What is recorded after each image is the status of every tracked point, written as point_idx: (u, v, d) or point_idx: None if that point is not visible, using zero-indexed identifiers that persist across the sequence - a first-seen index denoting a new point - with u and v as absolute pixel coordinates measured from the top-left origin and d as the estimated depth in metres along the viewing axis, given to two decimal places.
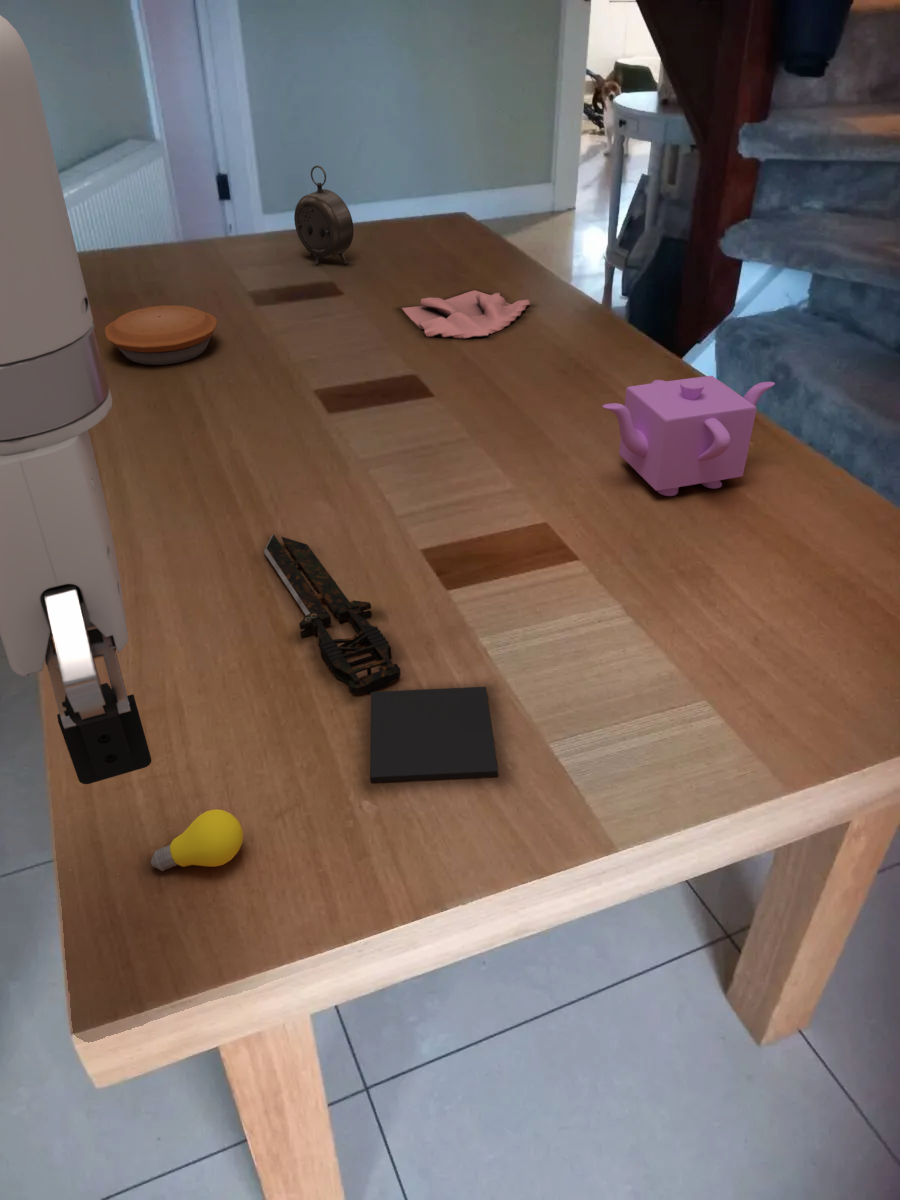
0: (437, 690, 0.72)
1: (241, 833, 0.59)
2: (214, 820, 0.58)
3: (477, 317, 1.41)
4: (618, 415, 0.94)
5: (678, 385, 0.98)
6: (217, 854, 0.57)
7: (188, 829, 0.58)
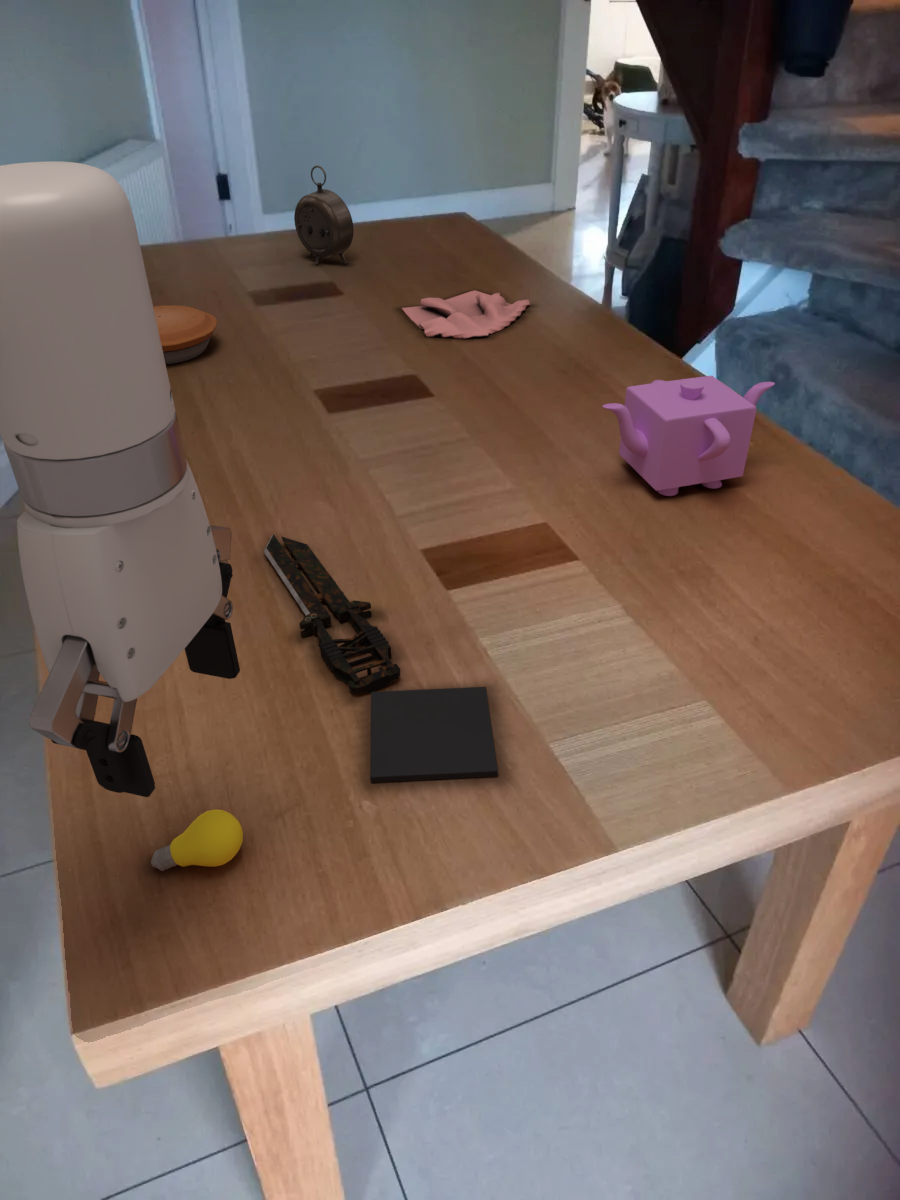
0: (437, 690, 0.72)
1: (241, 833, 0.59)
2: (214, 820, 0.58)
3: (477, 317, 1.41)
4: (618, 415, 0.94)
5: (678, 385, 0.98)
6: (217, 854, 0.57)
7: (188, 829, 0.58)
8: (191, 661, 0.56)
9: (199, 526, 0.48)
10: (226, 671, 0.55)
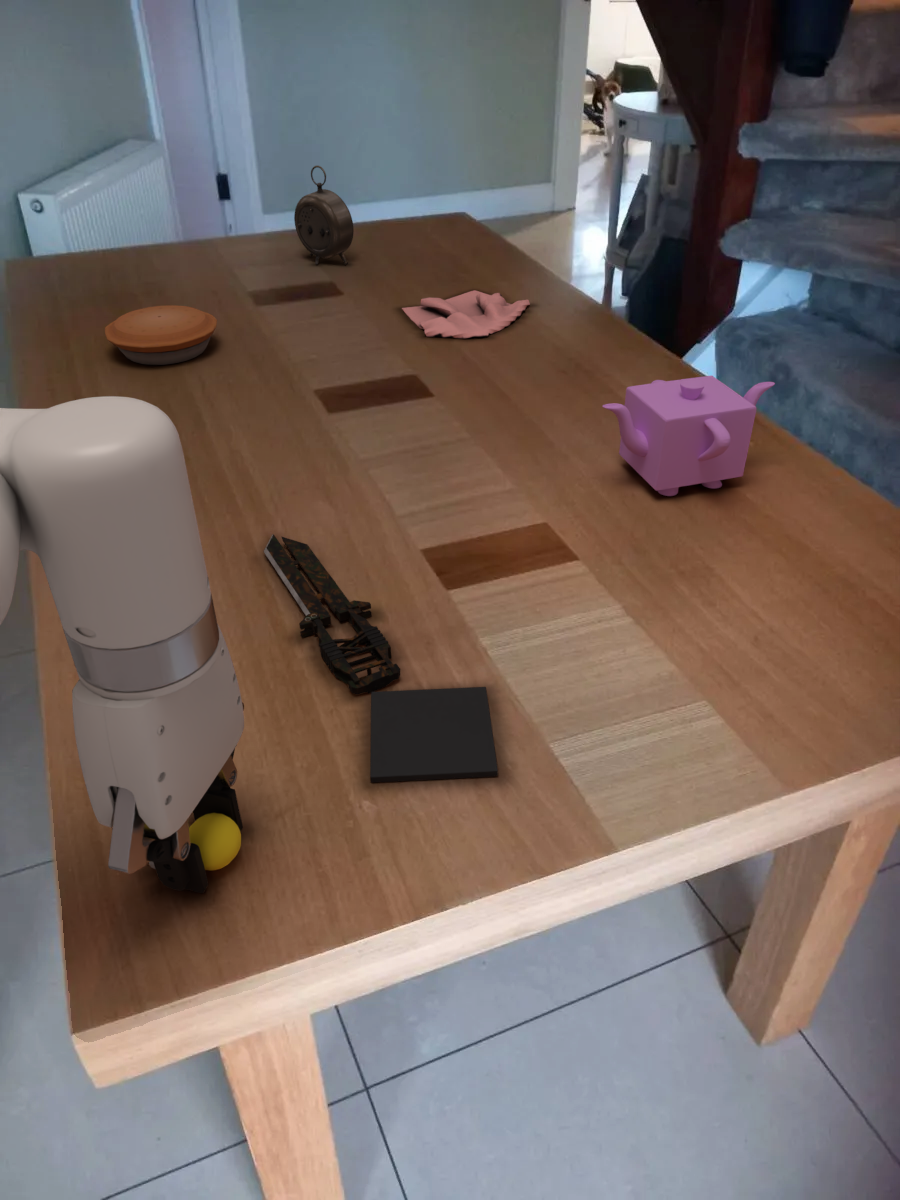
0: (437, 690, 0.72)
1: (239, 838, 0.58)
2: (212, 824, 0.57)
3: (477, 317, 1.41)
4: (618, 415, 0.94)
5: (678, 385, 0.98)
6: (214, 858, 0.57)
7: None
8: None
9: (226, 677, 0.54)
10: None
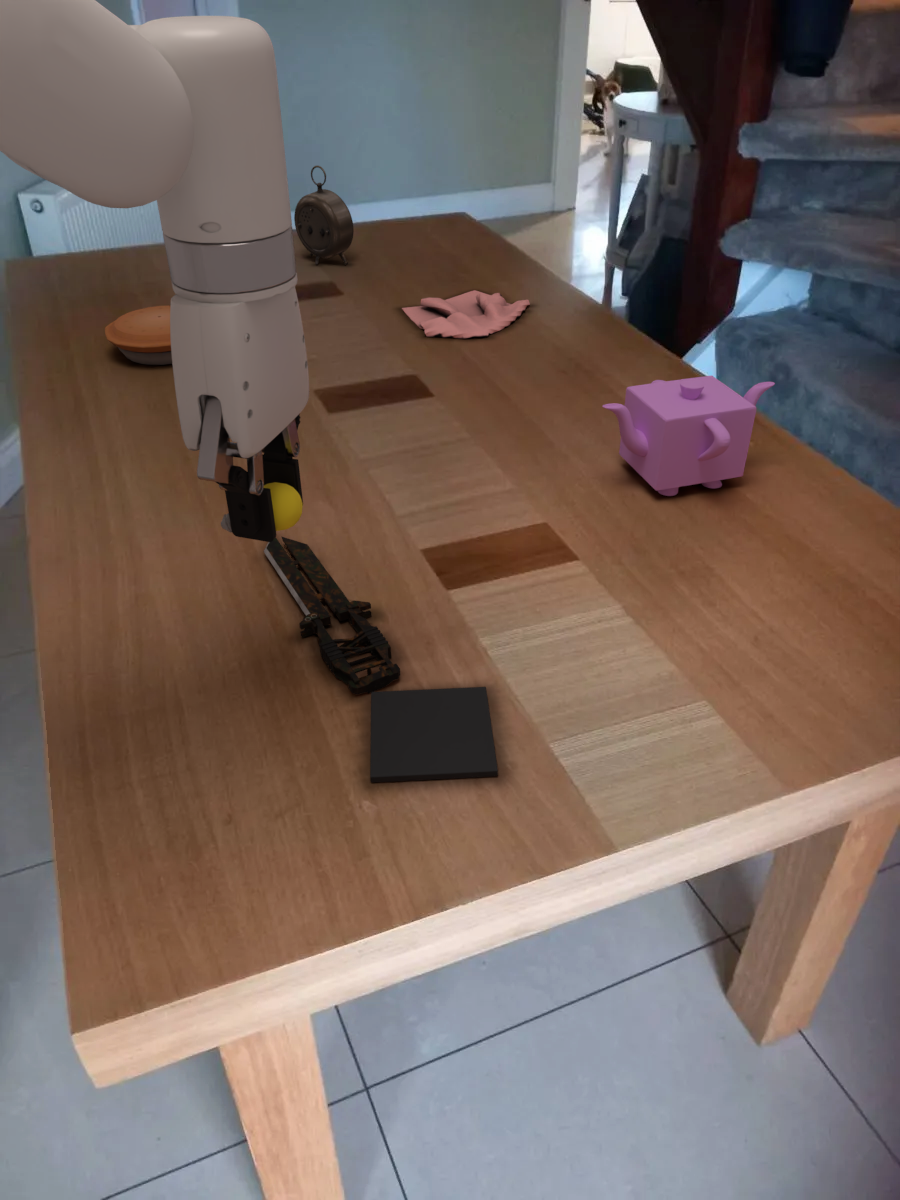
0: (437, 690, 0.72)
1: (301, 504, 0.65)
2: (277, 487, 0.64)
3: (477, 317, 1.41)
4: (618, 415, 0.94)
5: (678, 385, 0.98)
6: (278, 515, 0.64)
7: None
8: None
9: (298, 330, 0.60)
10: None
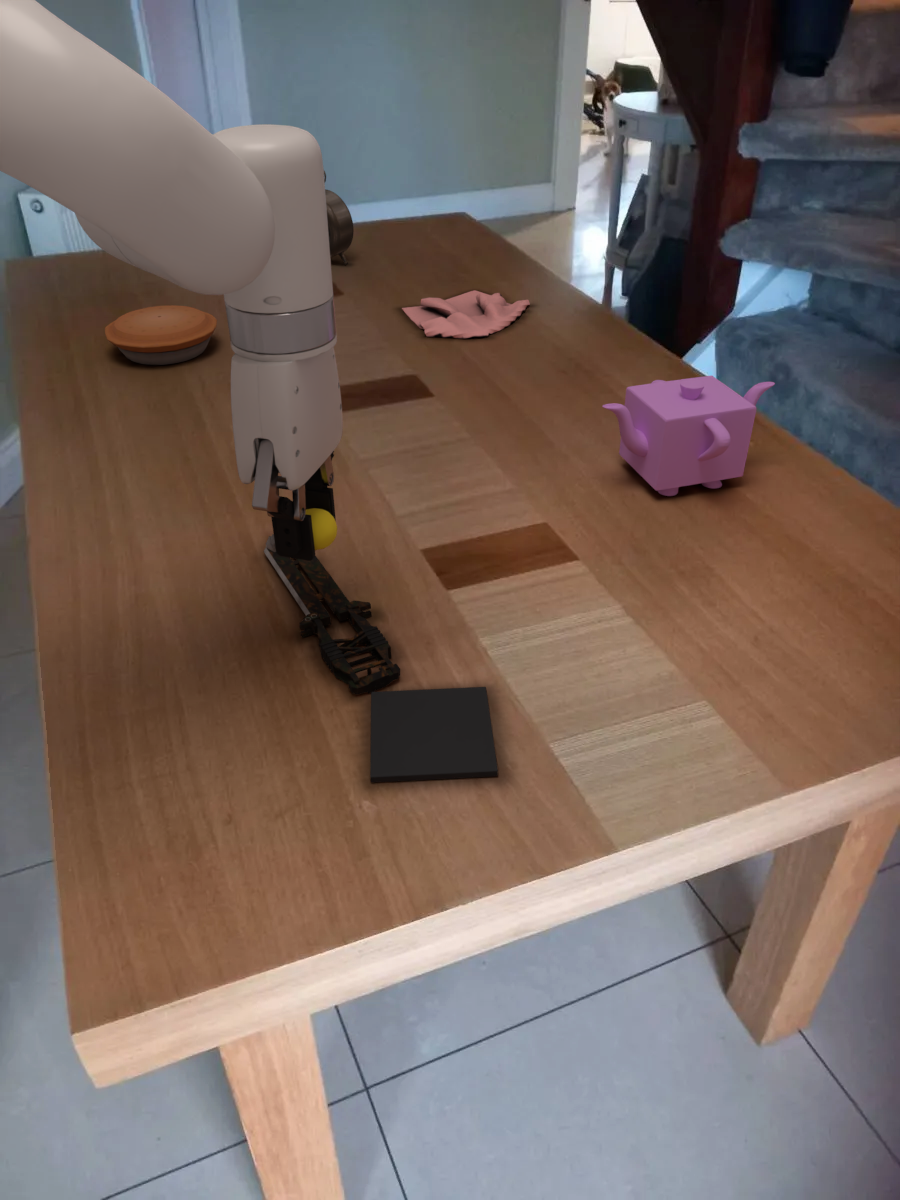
0: (437, 690, 0.72)
1: (336, 526, 0.74)
2: (316, 512, 0.74)
3: (477, 317, 1.41)
4: (618, 415, 0.94)
5: (678, 385, 0.98)
6: (317, 537, 0.73)
7: None
8: None
9: (335, 379, 0.70)
10: None
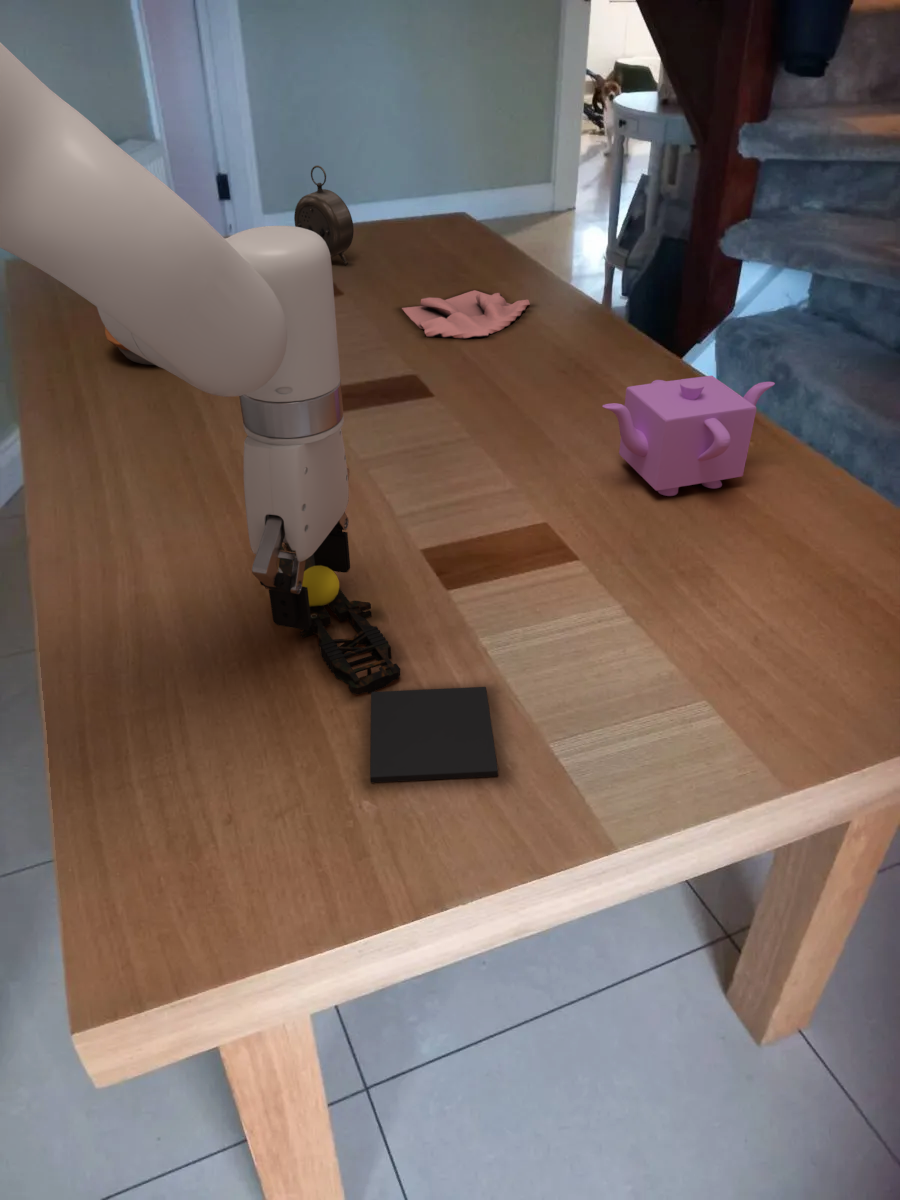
0: (437, 690, 0.72)
1: (337, 577, 0.80)
2: None
3: (477, 317, 1.41)
4: (618, 415, 0.94)
5: (678, 385, 0.98)
6: (318, 578, 0.78)
7: None
8: (317, 560, 0.82)
9: (341, 453, 0.74)
10: (342, 567, 0.81)
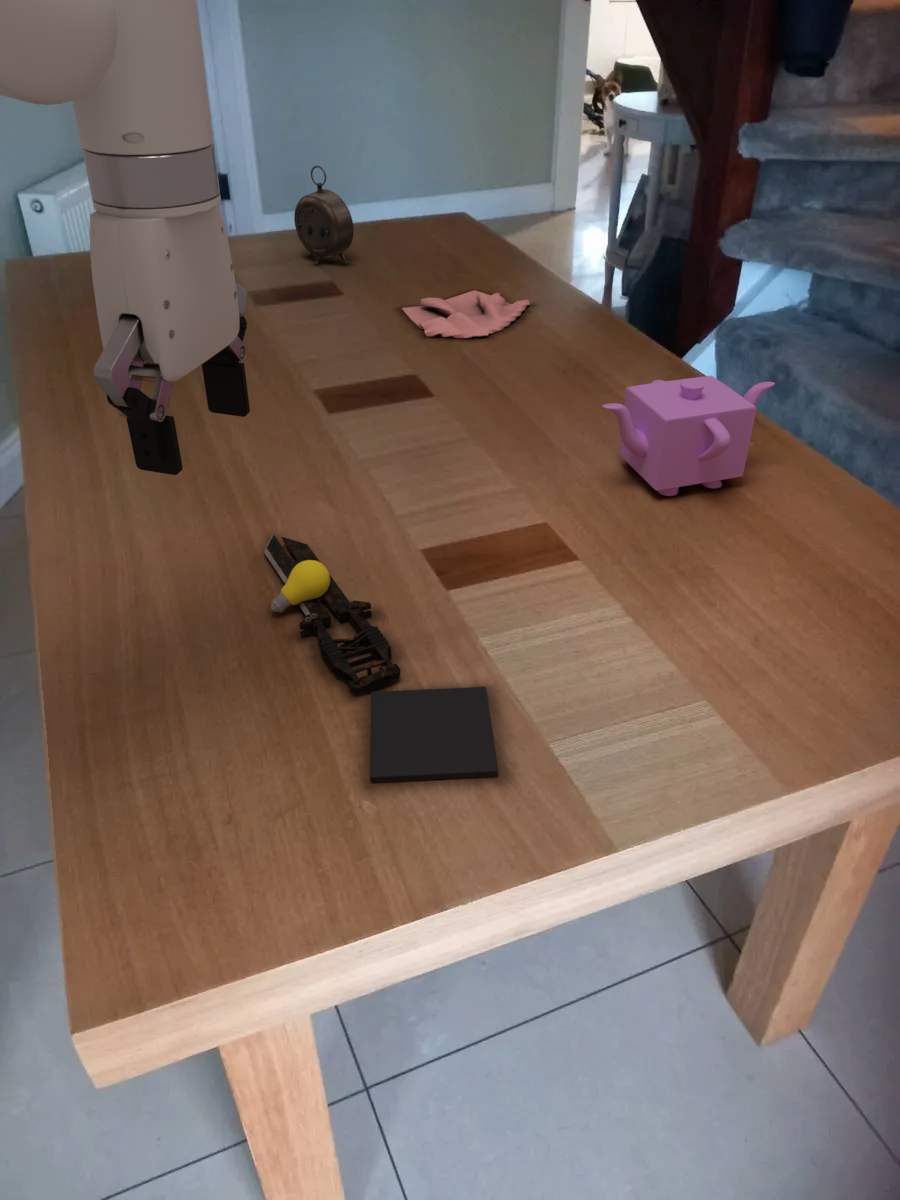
0: (437, 690, 0.72)
1: (323, 565, 0.81)
2: None
3: (477, 317, 1.41)
4: (618, 415, 0.94)
5: (678, 385, 0.98)
6: (300, 563, 0.81)
7: None
8: (210, 401, 0.68)
9: (225, 258, 0.60)
10: (239, 409, 0.68)
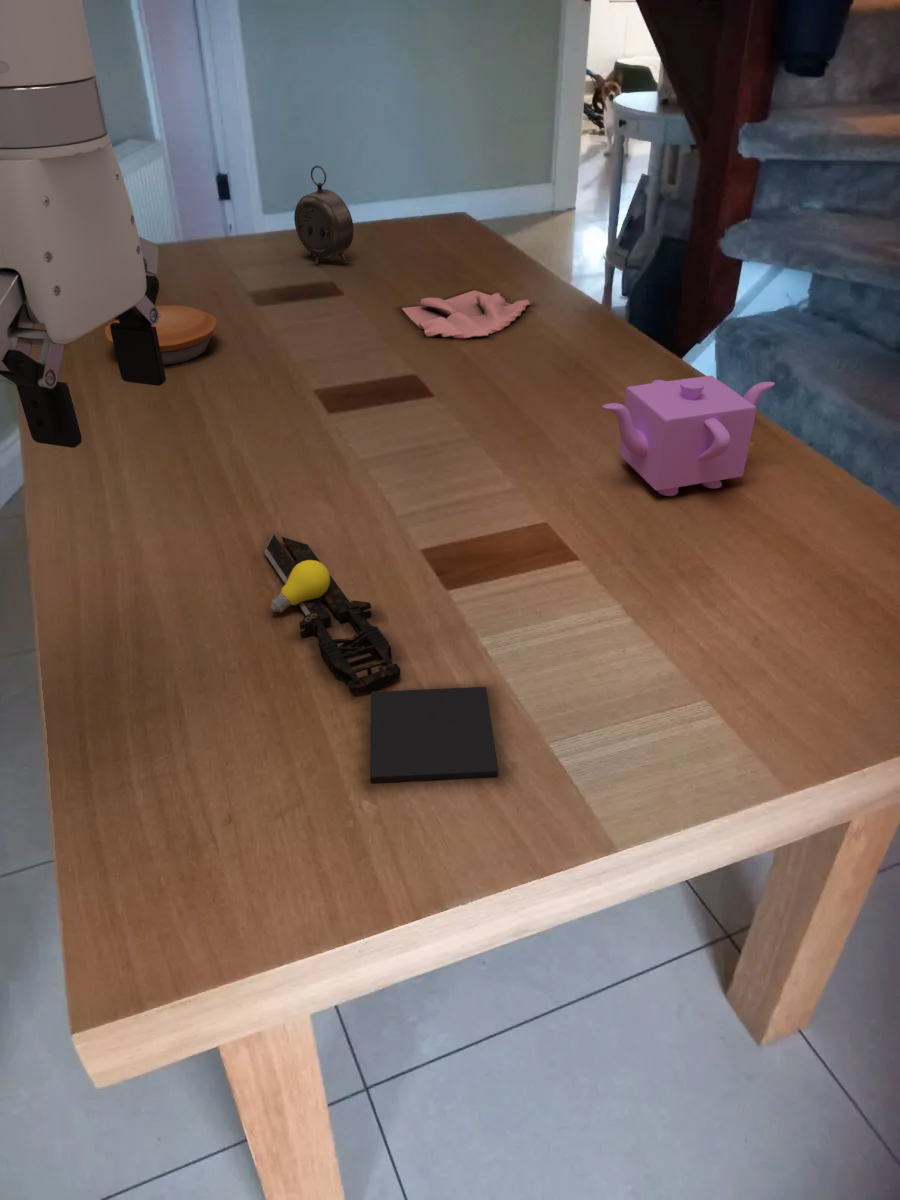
0: (437, 690, 0.72)
1: None
2: None
3: (477, 317, 1.41)
4: (618, 415, 0.94)
5: (678, 385, 0.98)
6: (301, 563, 0.81)
7: None
8: (122, 369, 0.63)
9: (123, 208, 0.55)
10: (153, 377, 0.63)
